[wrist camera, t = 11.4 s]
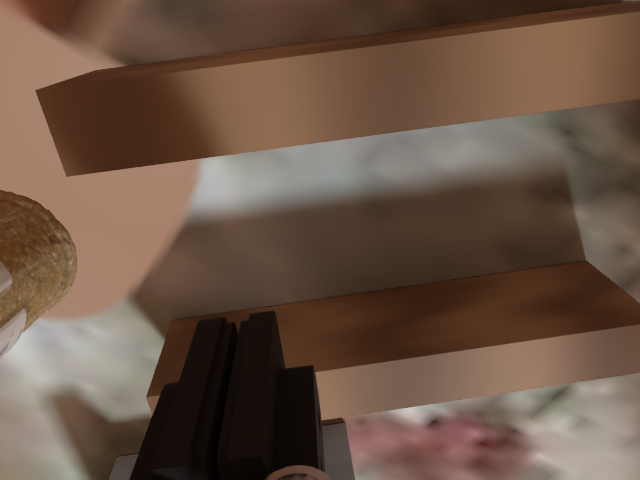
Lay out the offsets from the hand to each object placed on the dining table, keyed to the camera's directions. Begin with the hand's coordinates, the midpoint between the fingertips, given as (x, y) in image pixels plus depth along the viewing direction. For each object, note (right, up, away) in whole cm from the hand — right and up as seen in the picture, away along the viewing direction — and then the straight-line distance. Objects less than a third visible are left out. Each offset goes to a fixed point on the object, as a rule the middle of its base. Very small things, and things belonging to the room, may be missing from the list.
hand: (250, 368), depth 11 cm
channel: (+4, +4, +6) cm, 8 cm away
